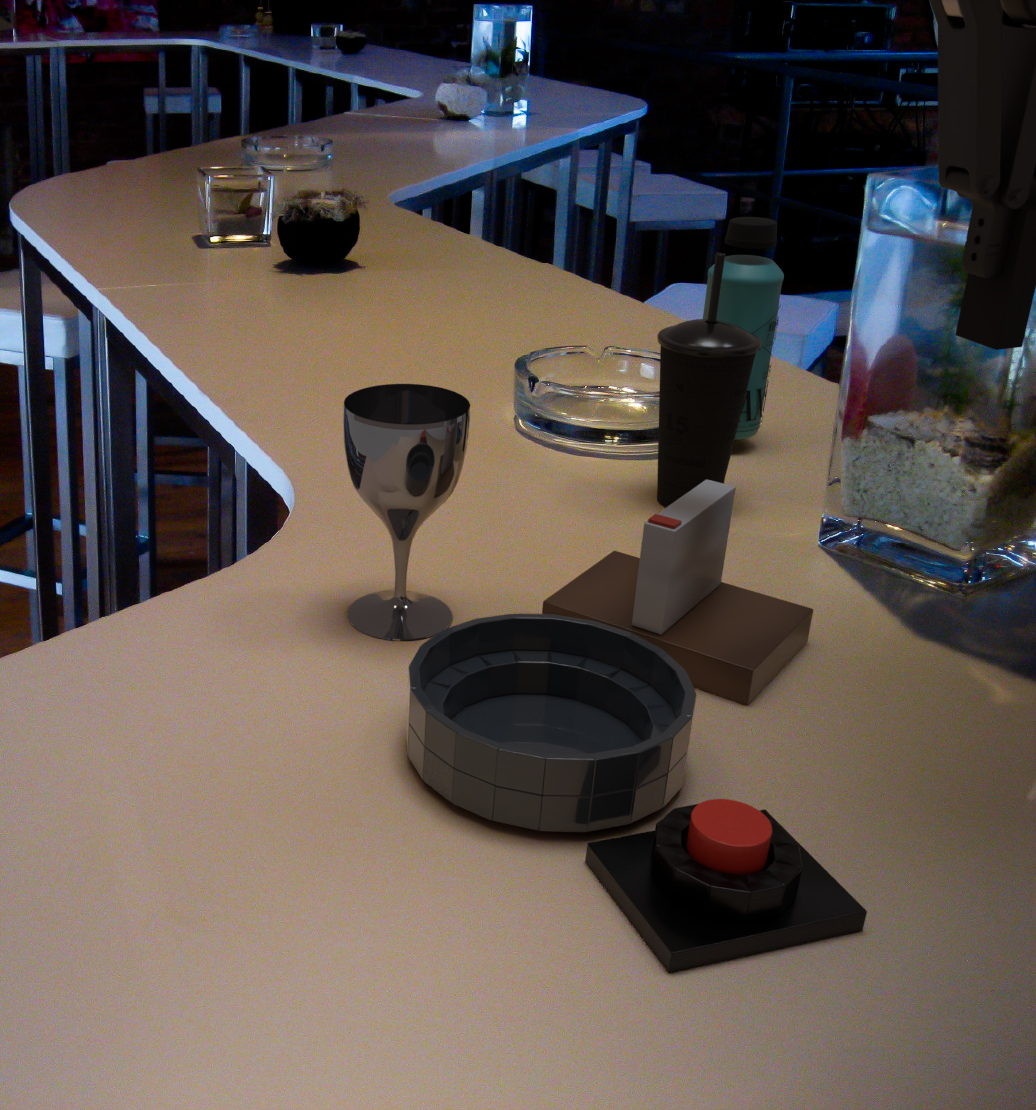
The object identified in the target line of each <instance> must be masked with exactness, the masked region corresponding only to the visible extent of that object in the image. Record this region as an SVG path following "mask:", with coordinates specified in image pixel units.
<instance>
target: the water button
mask: <svg viewBox="0 0 1036 1110" xmlns="http://www.w3.org/2000/svg"><path fill="white" fill-rule="evenodd" d="M697 804H698V805H697V806H696V807H695V808H694V809H693V811H692V813H691V819H690V825H689V832H688V838H687V850H688V853H689V854H690V856H691V857H692V859H693V860H694V861H696V862H698V863H701V864H703V865H705V866H707V867H709V868H711V869H713V870H715V871H717V872H724V873H730V874H737V875H745V874H750V873H755V872H759V871H760V870H762V869H763V867H764V866H765V864H766V861H767V856H768V851H769V846H770V841H771V835H772V826H771V823H770V821H769V820H768V818H767V817H766V816H765V815H764V814H763V813H762V812H760V811H759V809H757V808H756V807H754V806H752V805H750V804H747V803H746V802H745V803H744V802H741V801H738V800H734V799H727V798H713V799H708V800H705V801H702V802H700V803H697Z"/></svg>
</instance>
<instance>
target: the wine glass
mask: <svg viewBox="0 0 1036 1110" xmlns="http://www.w3.org/2000/svg"><path fill="white" fill-rule="evenodd" d="M342 406H343V412H342V426H343V428H342V429H343V446H344V447H343V448H344V452H345V453H344V454H345V461H346V466H347V469H348V474H349V477H350V481H351V483H352V486H353V489H354V490H355V492H356V493H357V495H358V496H359V497H360V499H361V500H362V501H363V502H364V503H365V504H366V505H367V506H368V508H369V509H370V510H371V511H372V512H373V513H374V514H375V515H376V516H377V517H378V519H380V521H381V522H382V524H383V525H384V526H385V528H386V529H387V532H388V534H389V536H390V538H391V542H392V551H393V561H394V589H391V590H380V591H375V592H371V593H368V594H367V593H366V594H365V595H362V596H360V597H358V598H357V599H355V600H354V601H352V603H350V605H349V606H348V608H347V610H346V618H347V620H348V622H349V624H351V626H352V627H354V629H356V630H358V631H360V632H362V633H363V634H365V635H368V636H371V637H374V638H377V639H383V640H387V641H399V642H400V641H402V642H403V641H418V640H424V639H428V638H432V637H434V636H435V635H436V634H438V633H439V632H441V631H442V630H444V629H447V628H450V627H451V624H452V622H453V618H454V617H453V616H454V615H453V612H452V610H451V608H450V607H449V606H448V605H447V604H446V603H445V602H443V601H442V600H440V599H438V598H436V597H434V596H432V595H429V594H426V593H423V592H419V591H411V590H407V581H408V580H407V579H408V578H407V577H408V567H409V562H410V561H409V559H410V553H411V549H412V544H413V541H414V538H415V536H416V534H417V532H418V530H420V528H421V526H422V525H423V524H424V523H425V522H426V521H427V520H428V519H429V518H430V517H431V516H432V515H433V514H434V513H436V511H437V510H438V509H440V508H441V506H442V505H444V504H445V502H446V501H447V500H448V499H449V498H450V496H452V494H453V493H454V491H455V489H456V488H457V485H458V483H459V480H460V477H461V474H462V471H463V467H464V465H465V464H464V463H465V459H466V454H467V450H468V445H469V444H468V443H469V435H470V426H471V403H470V401H469V400H468V398H467V397H465V396H464V395H462V394H460V393H459V392H456V391H454V390H451V389H447V388H444V387H439V386H434V385H428V384H421V383H420V384H418V383H388V384H387V383H386V384H378V385H373V386H367V387H364V388H361V389H358V390H355V391H353V392H351V393H350V394H348V395H347V396H346V397H345V399H344V401H343V405H342Z"/></svg>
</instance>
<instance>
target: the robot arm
mask: <svg viewBox="0 0 1036 1110" xmlns="http://www.w3.org/2000/svg"><path fill="white" fill-rule="evenodd" d="M929 3H930V6H931V9H932V12H933V15H934V18H935V21H936V24H937V139H938V140H937V141H938V143H937V145H938V147H937V148H938V149H937V150H938V151H937V152H938V153H937V155H938V157H937V159H938V163H937V164H938V184H939V186H941V188H942V189H946V190H948V191H949V190H950V191H953V192H956V193H957V195H958V196H959V197H960V198H963V199H968V200H970V203H971V214H970V217H969V222H968V229H967V233H966V237H965V239H966V241H965V242H964V249H963V253H962V257H961V267H962V272H964V273H967V276H966V281H965V287H964V291H963V295H962V301H961V304H960V305H961V306H960V309H959V310H960V311H959V315H958V320H957V325H956V329H955V336H957V337H959V338H962V339H964V340H968V341H971V342H973V343H975V344H978V345H981V346H984V347H987V348H990V349H992V350H996V351H999V350H1007V349H1015V348H1022V347H1023V345H1024V340H1025V335H1026V331H1027V327H1028V322H1029V319H1030V314H1031V310H1032V306H1033V301H1034V298H1035V292H1036V0H929Z"/></svg>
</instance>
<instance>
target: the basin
mask: <svg viewBox="0 0 1036 1110" xmlns="http://www.w3.org/2000/svg"><path fill="white" fill-rule="evenodd" d="M696 701H697V692H696V690H695V688H693V685H692V683H691V681H690V679H689V676H688V674H687V672H686V671H685V669H684V668H682V667H681V666H680V665H679V664H678V663H677V662H676V661H675V660H674V659H673V658H672V657H671V656H669V655H668V654H667V653H666V652H665V651H664V650H662V649H661V648H659V647H657V646H655V645H653V644H651V643H649V642H648V641H646V640H644V639H642V638H640V637H638V636H636V635H635V634H633V633H631V632H628V631H625V630H622V629H618V628H615V627H612V626H609V625H606V624H603V623H600V622H597V621H592V620H586V619H580V618H574V617H567V616H561V615H555V614H542V613H506V614H499V615H491V616H485V617H484V616H483V617H478V618H477V617H476V618H473V619H470V620H467V621H465V622H464V621H463V622H461V623H459V624H456V625H452V626H449V627H448V628H447V629H444V630H442V631H441V632H439V633H438V634H436V635H434V636H431V637H430V639H428V640H427V641H425V642H424V643H422V644H420V646H419V647H418V649H417V651H416V652H415V655H414V656H413V658H412V660H411V661H410V663H409V665H408V671H407V697H406V717H405V718H406V719H405V720H406V721H405V723H406V724H405V738H406V739H405V740H406V755H407V757H408V759H409V761H410V762H411V764H412V765H413V767H414V769H415V770H416V771H417V773H418V775H419V776H420V778H421V780H422V781H423V782H424V783H425V784H426V785H428V786H429V787H430V788H432V789H433V790H434V791H435V792H437V793H438V794H439V795H441V796H442V797H443V798H444V799H446V801H448V802H449V803H451V804H453V805H454V806H457V807H459V808H461V809H463V810H466V811H468V812H471V813H473V814H475V815H477V816H479V817H481V818H484V819H486V820H489V821H491V822H492V821H493V822H496V823H501V824H506V825H509V826H514V827H520V828H524V829H529V830H534V831H539V832H552V833H553V832H557V833H558V832H559V833H587V832H588V833H589V832H593V831H600V830H606V829H610V828H611V829H612V828H617V827H620V826H621V827H622V826H626V825H630V824H633V823H635V822H637V821H639V820H641V819H643V818H645V817H648V816H649V815H651V814H653V813H655V812H657V811H660V810H661V809H664V808H665V806H667V805H668V803H669V802H670V801H671V800H672V799H673V798H674V796H675V795H676V794H677V793H678V792H679V791H680V789H681V788H682V787H683V784H684V779H685V772H686V766H687V761H688V754H689V748H690V741H691V734H692V727H693V721H694V714H695V709H696V708H695V707H696Z"/></svg>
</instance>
